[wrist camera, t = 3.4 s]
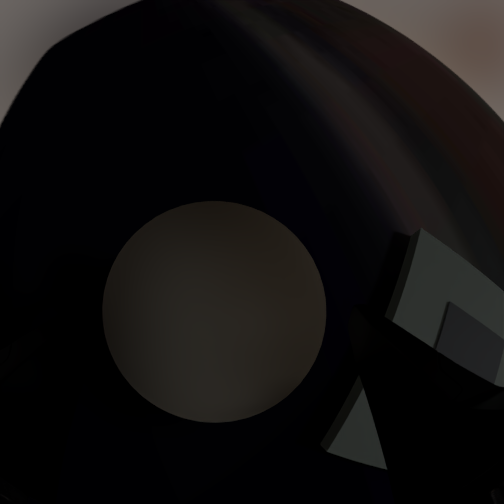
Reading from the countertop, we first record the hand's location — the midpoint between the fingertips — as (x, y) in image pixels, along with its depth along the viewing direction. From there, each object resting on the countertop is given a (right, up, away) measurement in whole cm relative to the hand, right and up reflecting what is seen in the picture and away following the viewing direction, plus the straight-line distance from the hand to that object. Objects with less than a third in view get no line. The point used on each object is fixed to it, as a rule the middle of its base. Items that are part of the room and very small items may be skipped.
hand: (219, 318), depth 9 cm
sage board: (+16, -7, +7) cm, 19 cm away
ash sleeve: (0, -3, +7) cm, 8 cm away
